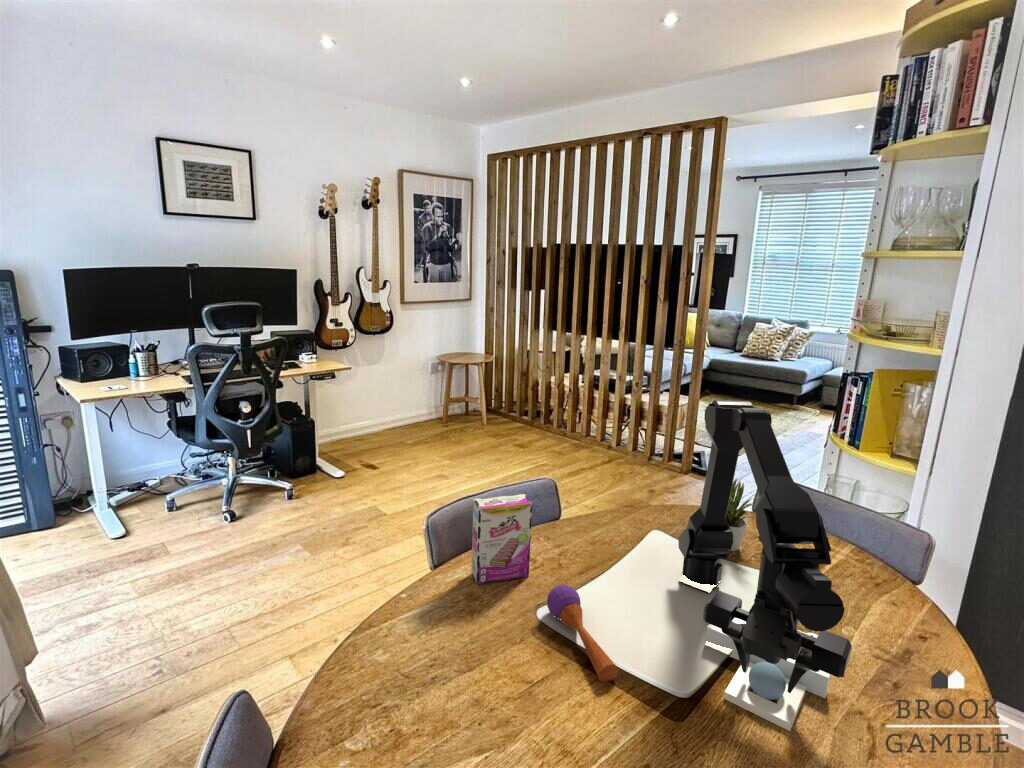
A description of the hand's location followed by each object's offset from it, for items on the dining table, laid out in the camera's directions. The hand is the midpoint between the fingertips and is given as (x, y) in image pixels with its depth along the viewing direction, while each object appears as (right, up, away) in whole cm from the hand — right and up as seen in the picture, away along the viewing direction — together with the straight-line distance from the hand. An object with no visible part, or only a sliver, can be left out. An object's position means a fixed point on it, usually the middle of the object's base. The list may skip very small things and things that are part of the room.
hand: (766, 680), depth 82 cm
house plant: (+11, +7, +47) cm, 49 cm away
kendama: (-26, 0, +12) cm, 29 cm away
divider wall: (+2, -1, +6) cm, 7 cm away
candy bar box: (-40, +5, +31) cm, 51 cm away
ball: (0, 0, 0) cm, 0 cm away
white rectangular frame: (0, -3, 0) cm, 3 cm away
